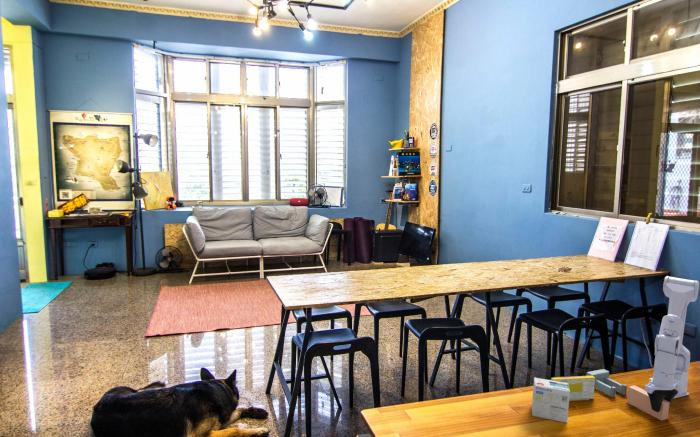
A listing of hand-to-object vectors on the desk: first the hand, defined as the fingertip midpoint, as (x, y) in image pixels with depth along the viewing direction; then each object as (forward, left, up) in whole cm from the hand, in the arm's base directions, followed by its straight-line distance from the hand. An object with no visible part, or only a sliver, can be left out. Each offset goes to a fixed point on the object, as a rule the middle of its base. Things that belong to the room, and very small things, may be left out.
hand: (659, 409), depth 149 cm
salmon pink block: (0, -4, -3) cm, 5 cm away
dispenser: (0, -19, -2) cm, 19 cm away
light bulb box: (+35, -13, -3) cm, 37 cm away
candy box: (+19, -18, -3) cm, 26 cm away
